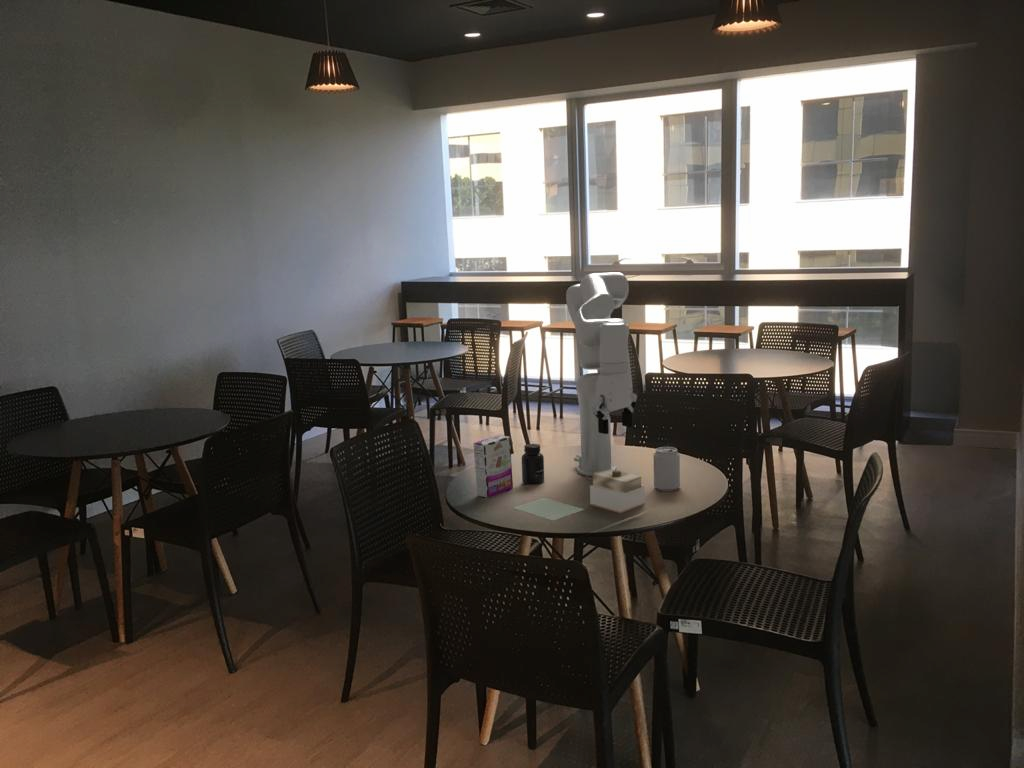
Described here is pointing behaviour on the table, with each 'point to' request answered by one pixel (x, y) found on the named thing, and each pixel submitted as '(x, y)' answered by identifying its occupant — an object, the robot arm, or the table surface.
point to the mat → (548, 509)
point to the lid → (617, 480)
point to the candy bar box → (493, 466)
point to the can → (666, 469)
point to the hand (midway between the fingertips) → (615, 429)
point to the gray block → (616, 498)
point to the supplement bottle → (532, 465)
